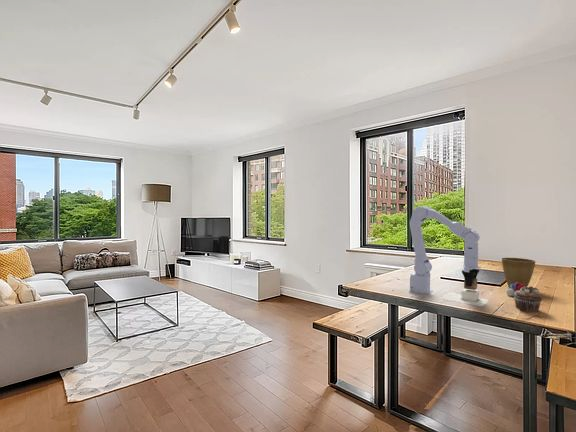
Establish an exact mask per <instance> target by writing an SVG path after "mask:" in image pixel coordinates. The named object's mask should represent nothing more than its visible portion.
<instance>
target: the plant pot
mask: <svg viewBox="0 0 576 432" xmlns="http://www.w3.org/2000/svg"><path fill="white" fill-rule="evenodd" d="M501 263H502V269H503V274H504V277H505V281H506V283H507V286H508V289H510V285H511V284H515V283H516V282H519V283H521V284H525V285H526V287H529V285H530V282H531V279H532V277H533V273H534V271H535V266H536V260H534V259H528V258H521V257H520V258H519V257H501Z"/></svg>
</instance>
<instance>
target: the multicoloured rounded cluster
mask: <svg viewBox="0 0 576 432" xmlns="http://www.w3.org/2000/svg"><path fill="white" fill-rule="evenodd" d="M524 286H526V285H525V284H521V283H519V282H516V283H515V284H511V285H510V288H508V289H507V290H506V294H507V295H506V296H509V297H514V296H515V295H517V294H516V292H517V291H519V290H520V289H521V288H523V287H524Z"/></svg>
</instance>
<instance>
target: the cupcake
mask: <svg viewBox="0 0 576 432" xmlns="http://www.w3.org/2000/svg"><path fill="white" fill-rule="evenodd" d="M516 294H517V295H515V296H513V300H514V304H515V305H514V306H515V308H516V309H518V310H519V311H521V310H522V311H523V312H527V313H538V312H539V310H540V308H541V307H540V306H541V303H542V301H543V300H542V297H543V295H542V294H541V293H540V291H539V289H538V288H537V287H534V286H527V287H526V286H524V287H523V288H521V289H520V290H519V291H517V292H516Z"/></svg>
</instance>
